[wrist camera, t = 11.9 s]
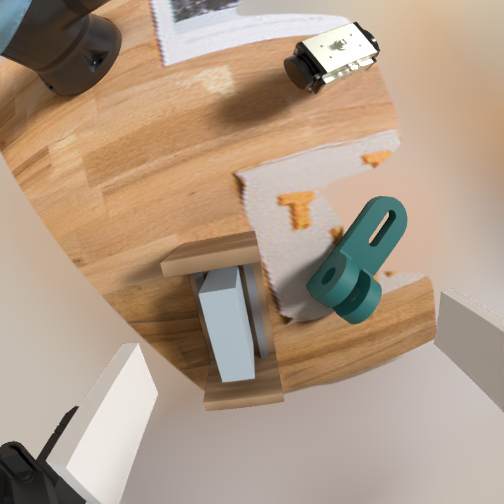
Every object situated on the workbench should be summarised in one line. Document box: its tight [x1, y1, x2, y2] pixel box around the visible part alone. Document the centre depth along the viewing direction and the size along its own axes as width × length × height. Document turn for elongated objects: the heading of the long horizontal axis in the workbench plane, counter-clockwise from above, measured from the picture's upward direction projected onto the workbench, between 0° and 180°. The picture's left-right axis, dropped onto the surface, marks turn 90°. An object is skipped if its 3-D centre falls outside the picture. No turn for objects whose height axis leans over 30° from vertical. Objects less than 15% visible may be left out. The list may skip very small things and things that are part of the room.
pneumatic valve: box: [284, 22, 380, 94], centre depth 28 cm, size 6×12×12 cm, turn 124°
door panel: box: [199, 266, 255, 382], centre depth 35 cm, size 12×4×9 cm, turn 10°
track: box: [160, 231, 284, 411], centre depth 35 cm, size 20×10×11 cm, turn 10°
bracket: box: [306, 196, 407, 324], centre depth 35 cm, size 18×7×8 cm, turn 144°
